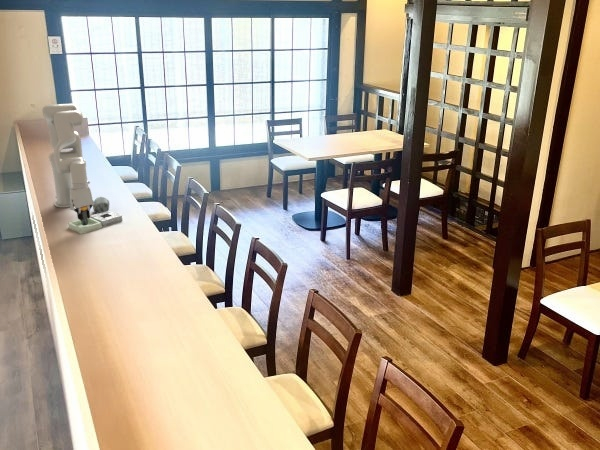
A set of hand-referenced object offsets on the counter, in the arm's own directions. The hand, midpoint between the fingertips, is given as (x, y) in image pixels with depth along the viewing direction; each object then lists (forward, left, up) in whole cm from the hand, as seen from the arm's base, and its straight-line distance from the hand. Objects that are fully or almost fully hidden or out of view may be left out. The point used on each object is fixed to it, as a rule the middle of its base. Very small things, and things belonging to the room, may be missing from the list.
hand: (84, 218), depth 293 cm
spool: (-15, +19, -5) cm, 25 cm away
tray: (0, 0, -5) cm, 5 cm away
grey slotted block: (-1, +13, -5) cm, 14 cm away
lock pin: (0, 0, -3) cm, 3 cm away
